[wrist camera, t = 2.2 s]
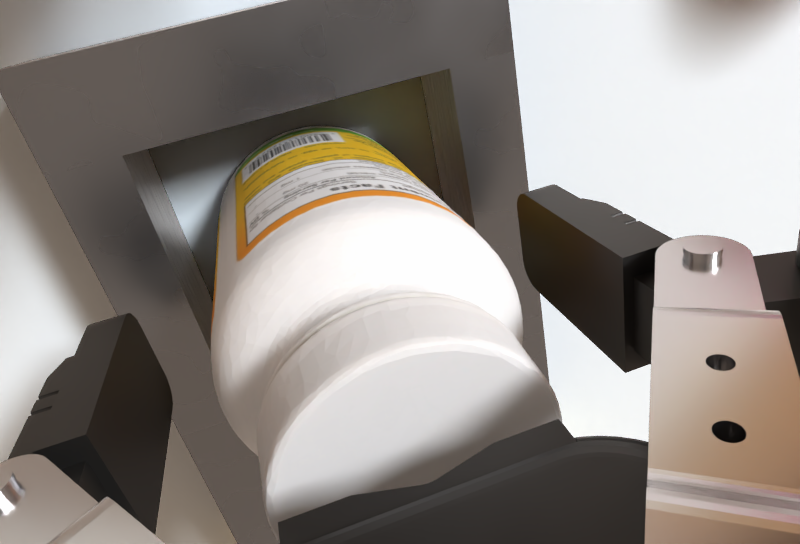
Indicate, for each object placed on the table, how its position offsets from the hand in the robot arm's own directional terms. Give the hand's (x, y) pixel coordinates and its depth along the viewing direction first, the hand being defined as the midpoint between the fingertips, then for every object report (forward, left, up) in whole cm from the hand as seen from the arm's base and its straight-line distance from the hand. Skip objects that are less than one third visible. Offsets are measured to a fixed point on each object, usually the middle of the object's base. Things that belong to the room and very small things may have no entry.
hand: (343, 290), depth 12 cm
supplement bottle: (0, 0, -5) cm, 5 cm away
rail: (0, +6, -4) cm, 8 cm away
